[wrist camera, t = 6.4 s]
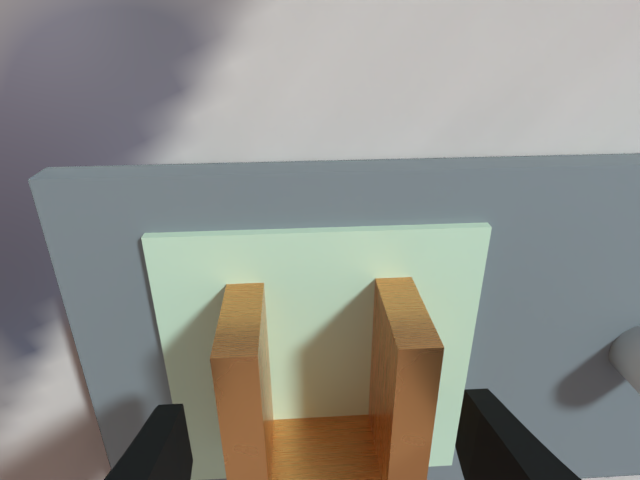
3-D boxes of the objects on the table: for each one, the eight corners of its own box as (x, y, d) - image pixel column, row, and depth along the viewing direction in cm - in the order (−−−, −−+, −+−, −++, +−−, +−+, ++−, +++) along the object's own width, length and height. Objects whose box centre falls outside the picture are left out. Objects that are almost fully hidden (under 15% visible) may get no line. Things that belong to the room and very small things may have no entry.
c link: (397, 435, 16) (420, 524, 13) (243, 444, 15) (234, 537, 13) (411, 277, 13) (444, 347, 10) (226, 284, 13) (209, 358, 10)
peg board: (747, 445, 19) (823, 517, 16) (130, 480, 18) (101, 566, 15) (910, 147, 14) (1064, 181, 11) (47, 167, 12) (-21, 211, 10)
